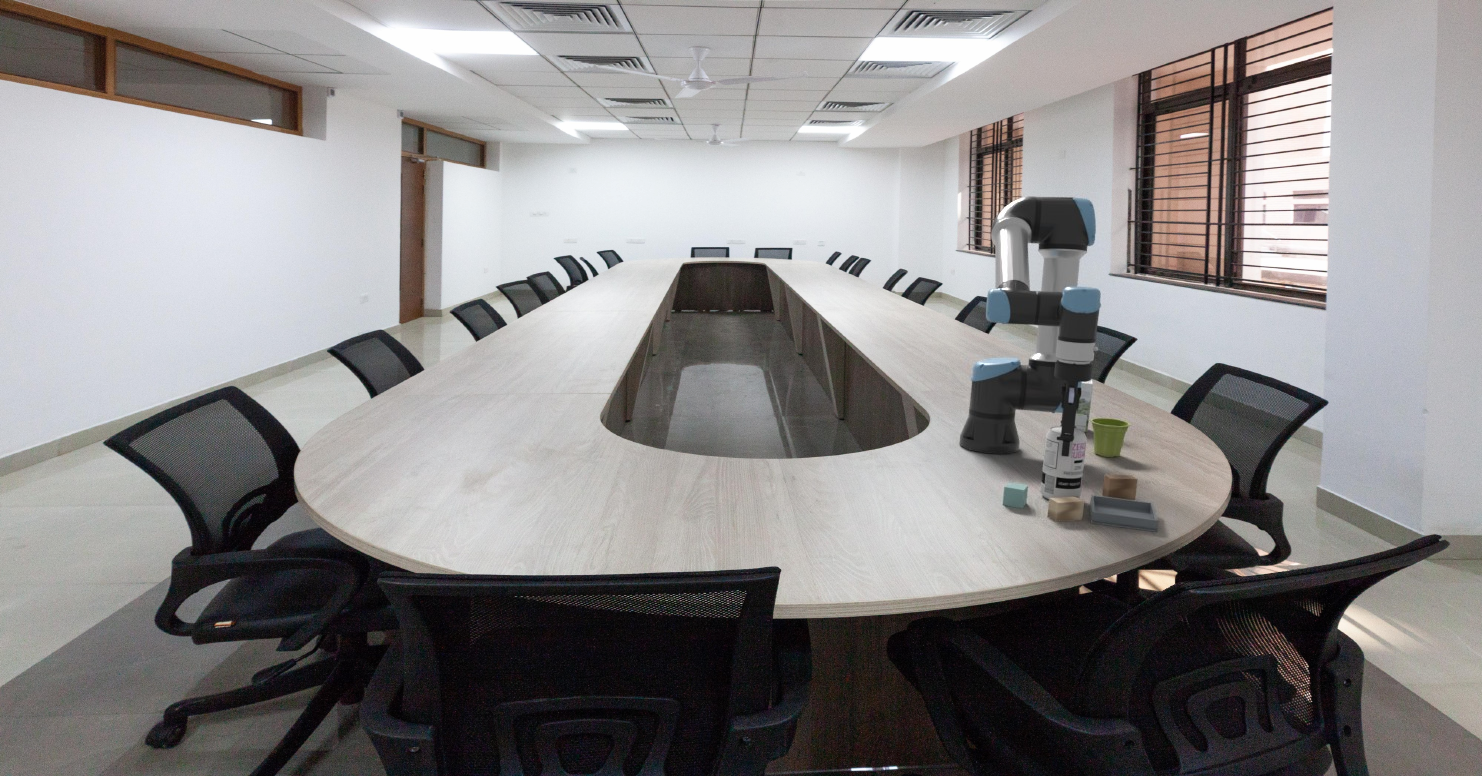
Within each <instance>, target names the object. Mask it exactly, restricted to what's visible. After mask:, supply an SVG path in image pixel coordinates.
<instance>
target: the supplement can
mask: <svg viewBox="0 0 1482 776" xmlns="http://www.w3.org/2000/svg"><path fill="white" fill-rule="evenodd" d="M1061 429H1062V426H1059V425H1055V426H1050V427H1049V430H1048V431H1047V433H1046V434H1045V445H1044V453H1043V462H1042V463H1043V464H1042V473H1041V481H1040V491H1039V492H1040V494H1041V495H1042V496H1043V498H1045V499H1047V500H1049V498H1060V497H1077V498H1079V499H1081V493H1082V486H1083V485H1082V484H1083V477H1084V476H1083V475H1084V466H1085V456H1086V450H1087V449H1086V448H1087V440H1088V438H1087V436H1086V434H1085V432H1084V431H1083V430H1081V429H1078V428H1074V440H1073V449H1072V458H1071V467H1070V471H1062V470H1056V469H1057V460H1058V450H1059V441H1060V440H1057V437H1060V435H1061ZM1065 434H1067V433H1065ZM1070 435H1071V434H1070Z"/></svg>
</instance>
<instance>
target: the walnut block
mask: <svg viewBox="0 0 1482 776" xmlns="http://www.w3.org/2000/svg"><path fill="white" fill-rule="evenodd" d="M1137 488H1138V478H1137V477H1136V476H1134V475H1132V474H1111V473H1110V474H1104V477H1103V484H1102V492H1101V496H1104V497H1112V498H1120V499H1128V500H1136V495H1137Z"/></svg>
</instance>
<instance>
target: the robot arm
mask: <svg viewBox="0 0 1482 776" xmlns="http://www.w3.org/2000/svg"><path fill="white" fill-rule="evenodd" d="M1095 212H1096V211H1095V208H1094V205H1093V202H1092V201H1091V200H1090V199H1088V198H1082V197H1081V198H1080V197H1074V196H1073V197H1072V196H1067V197H1066V196H1064V197H1063V196H1060V197H1059V196H1034V195H1033V196H1023V197H1020V198H1017V199H1015V200H1013V201H1012V202H1010V203H1008V204H1007V205H1006V206H1004V207H1003V208H1002V209H1001V210H1000V211H999V212H998V214H997V215H996V217H995V218H994V219H993V220H994V221H993V222H992V225H991V230H990V232H991V233H990V234H991V235H990V237H991V241H992V244H993V245H994V246H995V249H994V250H995V254H994V255H995V259H994V260H995V268H994V269H995V271H994V272H995V273H994V274H995V275H994V276H995V280H994V281H995V284H994V285H995V288H992V289H989V290H988V291H987V296H986V305H985V306H986V307H985V309H986V310H985V319H986V320H987V322H990V323H998V324H1002V325H1028V326H1030V325H1031V326H1037V334H1036V344H1035V345H1036V346H1035V352H1034V353H1033V354H1032V355H1031V356H1030V357H1028V364H1022V363H1021V360H1020V358H1016V357H992V358H984V359H980V360H978V361H976V362H975V363H974V364H973V367H972V373H971V374H972V375H971V377H970V381H971V385H970V386H971V389H970V395H969V396H970V397H969V407H968V408H969V409H968V416H967V419H966V421H965V423H964V426H963V428H962V430H961V432H960V435H959V443H958V444H959V445H960V446H961V447H963V448H965V449H967V450H970V451H974V452H979V453H984V454H985V453H986V454H996V455H997V454H1000V455H1001V454H1003V455H1006V454H1014V453H1016V452H1018V451H1020V442H1021V441H1020V437H1019V433H1018V429H1017V424H1016V421H1015V420H1016V419H1015V418H1016V411H1017V410H1018V411H1031V412H1042V413H1044V412H1045V413H1051V414H1056V413H1058V414H1059V413H1060V414H1061V420H1060V426H1062V429H1061V435H1060V437H1057V440H1060V441H1059V450H1058V460H1057V469H1056V470H1062V471H1070V467H1071V458H1072V449H1073V440H1074V428H1076V426H1075V418H1076V410H1078V408H1079V399H1080V397H1081V391H1082V390H1081V384H1082V382H1087V381H1090V380H1092V379H1093V372H1094V364H1093V363H1092V361H1094V358H1095V352H1098V351H1099V347H1098V346H1096V341H1097V333H1098V332H1097V331H1098V325H1099V324H1098V323H1099V316H1100V308H1101V307H1102V304H1101V291H1100V289H1098V288H1096V287H1090V286H1078V284H1079V283H1078V282H1079V271H1080V261H1081V259H1082V258H1083V257H1084V256H1085V255H1086V254H1087V253H1088V247H1091V246H1093V245H1094V244H1095V241H1096V234H1097V233H1096V232H1097V231H1096V230H1097V228H1096V227H1097V226H1096V225H1097V223H1096V213H1095ZM1028 244H1037V245H1038V250H1037V251H1038V252H1039V253H1040V255H1041V256H1042V257H1043V266H1042V275H1041V276H1042V277H1041V287H1040V288H1041V289H1040V290H1031V287H1030V286H1031V284H1030V263H1029V262H1030V261H1029V245H1028ZM1065 433H1067V434H1065ZM1070 434H1071V435H1070Z"/></svg>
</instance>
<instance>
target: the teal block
mask: <svg viewBox="0 0 1482 776" xmlns="http://www.w3.org/2000/svg"><path fill="white" fill-rule="evenodd" d="M1028 492H1029V485H1028V484H1022V483H1021V484H1020V483H1014V482H1008V483H1006V484H1005V486H1004V488H1003V497H1002V505H1003V506H1009V507H1013V508H1018V509H1023V508H1024V507H1025V506H1026V505H1027V501H1028V500H1027V499H1028Z"/></svg>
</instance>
